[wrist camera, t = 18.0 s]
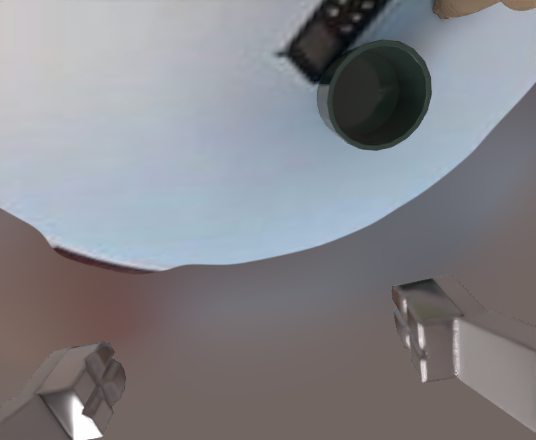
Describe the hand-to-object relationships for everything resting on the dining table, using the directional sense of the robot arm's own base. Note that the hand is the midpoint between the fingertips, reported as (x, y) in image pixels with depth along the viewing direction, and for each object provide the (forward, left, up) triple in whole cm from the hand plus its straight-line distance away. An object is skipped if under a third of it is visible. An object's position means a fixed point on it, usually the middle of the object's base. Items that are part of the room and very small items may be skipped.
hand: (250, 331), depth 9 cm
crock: (-2, +13, -37) cm, 39 cm away
